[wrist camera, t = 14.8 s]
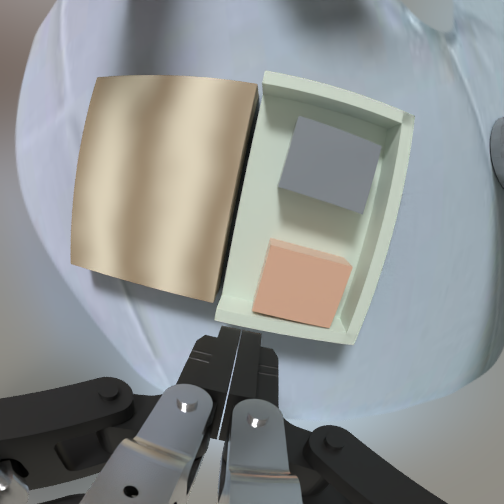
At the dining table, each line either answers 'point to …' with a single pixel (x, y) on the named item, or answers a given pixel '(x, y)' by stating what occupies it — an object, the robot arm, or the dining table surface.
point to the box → (315, 204)
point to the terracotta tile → (301, 283)
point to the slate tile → (329, 165)
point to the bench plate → (161, 179)
